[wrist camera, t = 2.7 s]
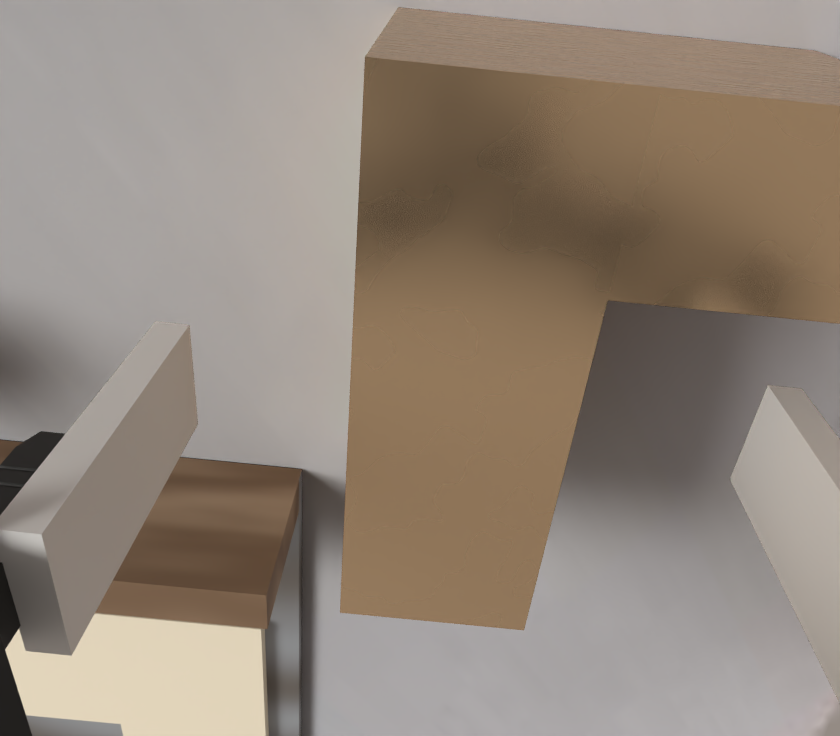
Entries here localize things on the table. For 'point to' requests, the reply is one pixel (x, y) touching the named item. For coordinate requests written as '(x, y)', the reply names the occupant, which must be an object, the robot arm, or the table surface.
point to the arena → (216, 572)
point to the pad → (151, 678)
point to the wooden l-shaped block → (549, 267)
